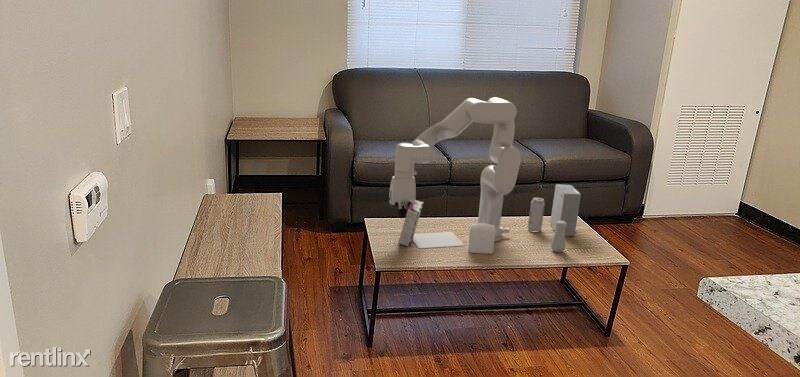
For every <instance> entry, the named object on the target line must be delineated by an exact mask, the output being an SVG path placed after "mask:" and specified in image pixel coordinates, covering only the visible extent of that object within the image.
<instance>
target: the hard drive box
mask: <svg viewBox="0 0 800 377" xmlns="http://www.w3.org/2000/svg"><path fill="white" fill-rule="evenodd" d="M554 187H555V188H554V194H553V195H554V196H553V199H552V200H553V202H552V208H551V214H550V215H551V216H550V221H549V222H550V223H551V225H552V226H553V228H554V229H553V228H552V229H553V231H554V230H555V231H556V229H557V227H556V222H557V221H565V222H566V223H567V227H566V228H565V237H569V236H574V237H575V234H576V228H577V222H578V216H579V210H580V202H581V199H582V198H581V197H582V194H581V193H580V192H579V191H578V190H577V189H576V188H575V187H574V186H573V185H572V184H560V183H556V184H555V186H554ZM551 225H550V226H551ZM552 226H551V227H552ZM555 231H554V232H555Z"/></svg>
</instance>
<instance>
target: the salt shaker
mask: <svg viewBox="0 0 800 377" xmlns="http://www.w3.org/2000/svg"><path fill="white" fill-rule="evenodd" d="M556 227H557V229H556V232H555V231H554V235H553V238H552V240H551V242H550V247H551V250H552V252H554V251H555V252H554V253H556V252H561V253H563V252H564V251H565V249H566V236H565V228H566V227H567V223H566V222H565V221H557V222H556ZM562 251H563V252H562Z"/></svg>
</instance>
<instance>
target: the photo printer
mask: <svg viewBox="0 0 800 377" xmlns="http://www.w3.org/2000/svg"><path fill="white" fill-rule="evenodd" d="M494 241H495V227H494V226H493V225H491V224H487V223H478V222H477V223H473V224H470V228H469V236H468V245H467V247H468V248H467V252H469V253H471V254H482V255H483V254H487V255H491V254H492V255H493V253H494V249H495V242H494Z"/></svg>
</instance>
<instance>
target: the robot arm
mask: <svg viewBox="0 0 800 377" xmlns="http://www.w3.org/2000/svg"><path fill="white" fill-rule="evenodd" d="M517 111H518V110H517V107H516V106H515V104H514V103H513V102H511V101H508V100H506V99H503V98H500V97H494V96H493V97H490V98H489V99H488V100H486V101H484V100H480V99H477V98H474V97H469V98H466V99H465V100H464V101H462V103H460V104H459V105H458V106H457V107H455V109H454V110H452V112H450V113H449V114H448V115H447V116H446V117H445V118H443V119H442V120H441V121H438V122H437V123H436V124H433V125H431V126H429V127H428V128H427V129H425V130H423V131H422V132H421V133H420V134H419V135H418V136H417V137H416V138H415V139H414V140H413V141H412V142H411V143H410V142H400V143H398V144H396V146H395V159H394V160H395V162H394V175H393V176H391V180H390V187H389V193H388V194H389V196H388V198H389V201H388V202H389V205H392V206H396V207H397V216H398V217H399V219H405V218H406V214H407V210H408V208H409V206H410V204H411V203H415V200H416V196H417V193H416V192H417V191H416V190H417V189H416V188H417V187H416V178H415V175H417V174H418V172H417V170H414V169H415V163H416V164H417V163H418V164H429V163H432V162H433V161H434V160H435V159H436V154H437V153H436V150H435V148H434V147H433V146H435V145H436V144H437V143H439V142H441V141H443V140H447V139H453V138H456V137H457V136H459V135H460V134H461V133H463V131H464V130H465V129H467V128H468V127H469V126H470V125H471V124H472V123H476V124H493V133H492V137H491V142H490V146H489V150H488V151H489V152H488V157H489V159H490V160H491V161H492V162H493V163H495V164H496V165H494V164H490V165H487V166H485V167H484V168H483V169H482V172H481V174H480V200H479V209H478V215H477V216H478V217H477V218H478V219H477V223H487V224H491V225H493V226H494V227H495V241H494V243H495V242H496V243H497V242H499V241H502V240H503V234H507V233H510V228H508V227H507V228H506V227H504V226H501V219H502V212H503V211H502V209H503V203H504V196H507V195H508V194H510V193H511V192H512V191H513V190H514V187H515V185H516V183H517V179H518V174H519V170H520V167H521V166H520V165H521V162H522V158H521V157H522V156H521V153H520V150H519V149H518V148H517V147H516V146H514V145H513V142H514V137H515V133H516V132H515V131H516V125H515V118H516V116H517Z"/></svg>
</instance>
